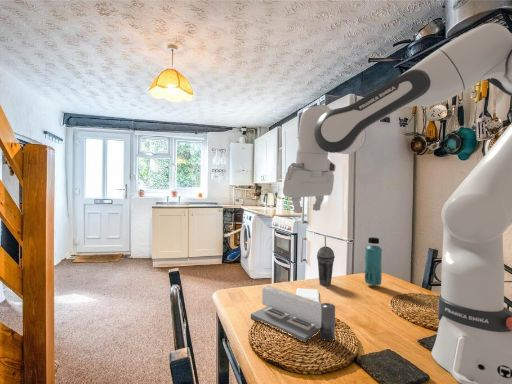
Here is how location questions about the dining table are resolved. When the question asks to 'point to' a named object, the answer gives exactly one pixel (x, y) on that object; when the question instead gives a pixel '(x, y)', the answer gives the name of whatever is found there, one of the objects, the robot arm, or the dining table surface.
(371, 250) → the beverage bottle
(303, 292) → the external hard drive
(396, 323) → the dining table surface
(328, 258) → the beverage cup
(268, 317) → the label panel
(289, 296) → the grey rectangular block
